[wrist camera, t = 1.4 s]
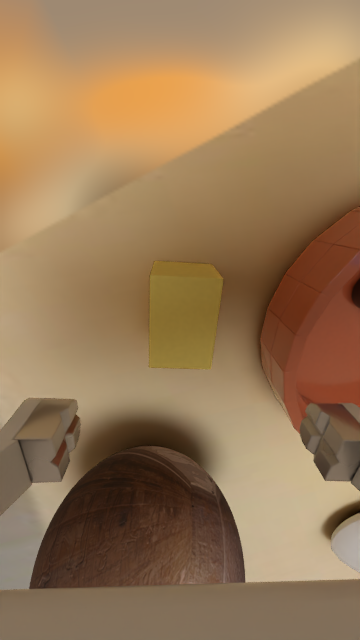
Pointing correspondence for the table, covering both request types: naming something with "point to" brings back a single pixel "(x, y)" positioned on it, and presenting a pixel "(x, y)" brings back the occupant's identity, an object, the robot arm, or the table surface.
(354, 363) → the bowl
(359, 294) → the dark grey flat disc
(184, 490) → the wooden sphere
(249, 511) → the table surface
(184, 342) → the sponge
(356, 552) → the flower in vase
